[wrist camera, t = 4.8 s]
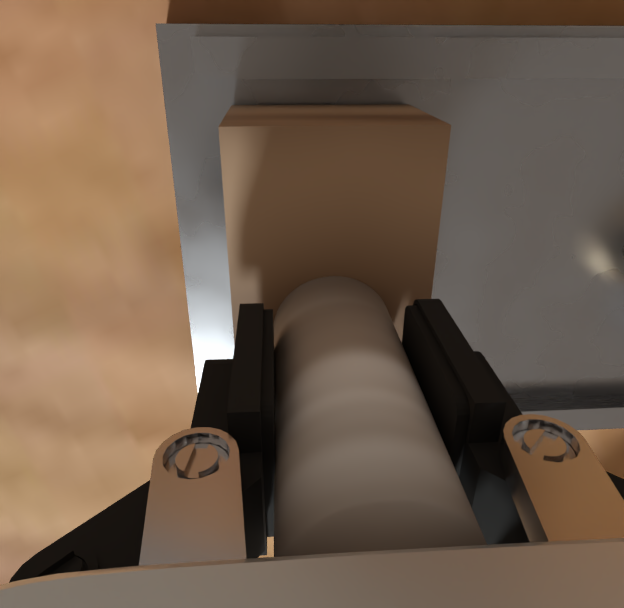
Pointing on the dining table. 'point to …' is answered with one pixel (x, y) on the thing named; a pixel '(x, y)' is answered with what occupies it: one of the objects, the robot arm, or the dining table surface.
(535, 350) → the grey tray
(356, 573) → the robot arm
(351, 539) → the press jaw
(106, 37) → the dining table surface
